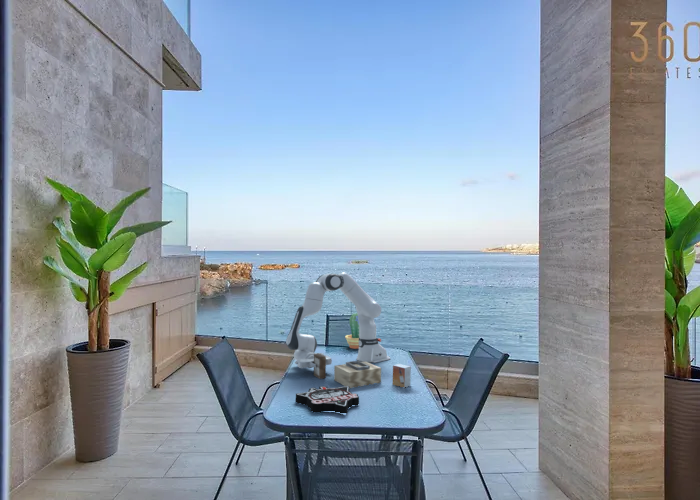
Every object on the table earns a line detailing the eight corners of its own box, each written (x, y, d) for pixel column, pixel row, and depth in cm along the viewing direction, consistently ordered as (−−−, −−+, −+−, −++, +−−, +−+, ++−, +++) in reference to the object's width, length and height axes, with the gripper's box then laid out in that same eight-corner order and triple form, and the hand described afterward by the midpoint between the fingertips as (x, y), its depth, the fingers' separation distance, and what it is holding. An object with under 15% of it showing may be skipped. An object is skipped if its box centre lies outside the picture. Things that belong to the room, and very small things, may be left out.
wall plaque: (343, 383, 221) (373, 401, 195) (343, 391, 221) (373, 410, 195) (291, 390, 208) (315, 411, 182) (291, 399, 208) (315, 421, 182)
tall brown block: (319, 374, 250) (319, 353, 250) (325, 378, 243) (325, 356, 243) (313, 375, 248) (313, 354, 248) (319, 378, 241) (320, 357, 241)
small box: (392, 385, 232) (392, 365, 232) (398, 382, 236) (398, 363, 236) (404, 388, 226) (404, 368, 226) (410, 386, 230) (411, 366, 230)
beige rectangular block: (365, 375, 249) (365, 358, 249) (380, 382, 235) (381, 365, 235) (334, 380, 239) (334, 362, 239) (349, 388, 225) (349, 369, 225)
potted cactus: (345, 349, 314) (345, 314, 314) (344, 344, 329) (345, 311, 329) (366, 349, 314) (367, 315, 314) (365, 345, 330) (365, 312, 330)
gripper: (293, 356, 251) (303, 361, 239) (325, 352, 262) (336, 357, 250) (293, 367, 251) (303, 373, 239) (325, 363, 262) (336, 368, 250)
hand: (320, 365), depth 245 cm, fingers open, 4 cm apart
